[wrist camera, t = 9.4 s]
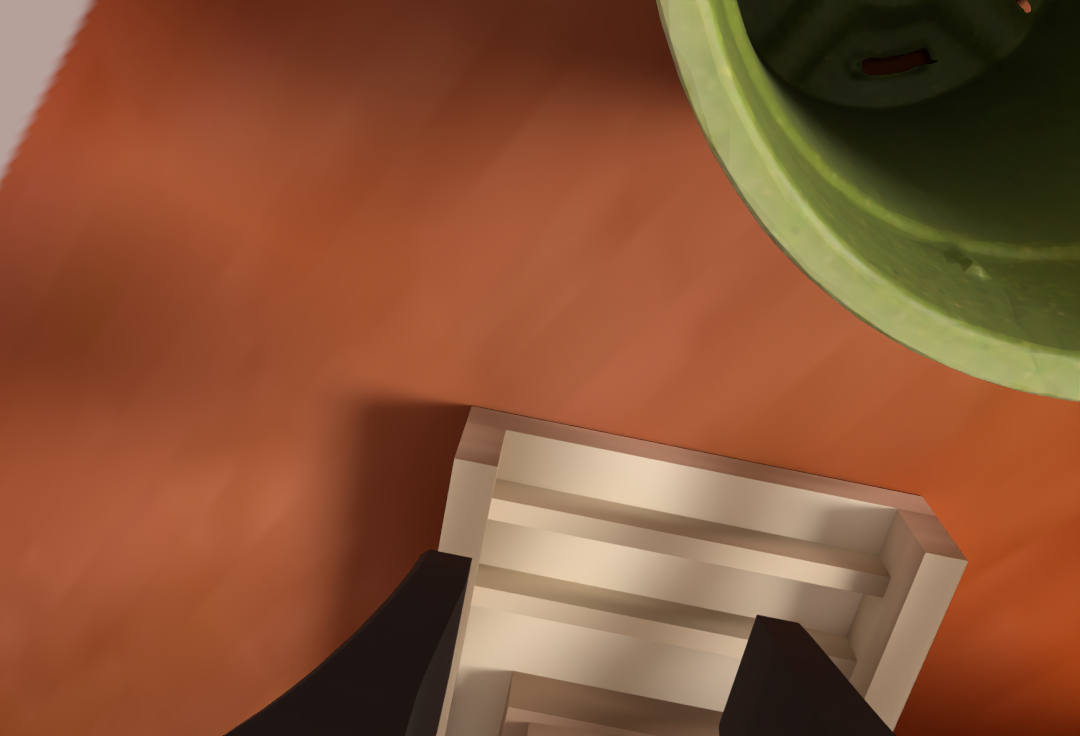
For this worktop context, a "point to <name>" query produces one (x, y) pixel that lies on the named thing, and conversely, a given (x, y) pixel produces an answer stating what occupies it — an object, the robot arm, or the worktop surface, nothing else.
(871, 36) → the plant pot
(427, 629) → the robot arm
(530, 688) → the offcut lower
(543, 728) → the offcut upper
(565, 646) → the rack
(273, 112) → the worktop surface
